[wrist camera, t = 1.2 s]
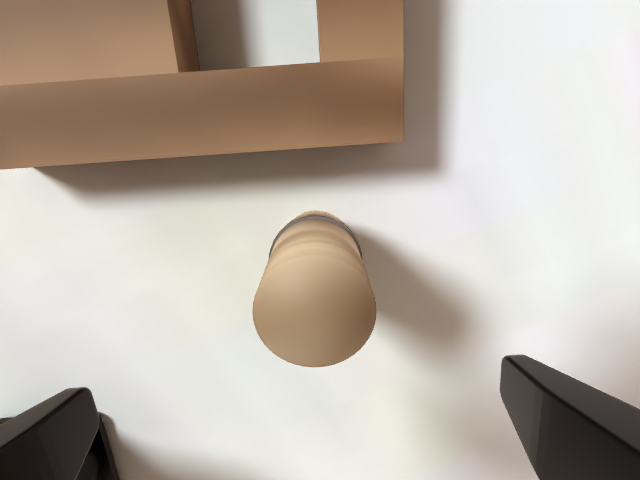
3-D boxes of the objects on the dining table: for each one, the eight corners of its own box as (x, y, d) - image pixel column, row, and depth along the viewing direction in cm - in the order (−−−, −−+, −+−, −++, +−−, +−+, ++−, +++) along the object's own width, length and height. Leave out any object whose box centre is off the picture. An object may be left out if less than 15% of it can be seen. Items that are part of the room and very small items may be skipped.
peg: (357, 276, 20) (380, 365, 13) (280, 281, 20) (257, 373, 13) (353, 200, 19) (377, 248, 11) (272, 205, 19) (241, 257, 12)
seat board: (390, 139, 18) (403, 141, 15) (27, 164, 19) (-26, 171, 16) (386, -172, 15) (402, -245, 12) (-59, -136, 15) (-147, -198, 12)
